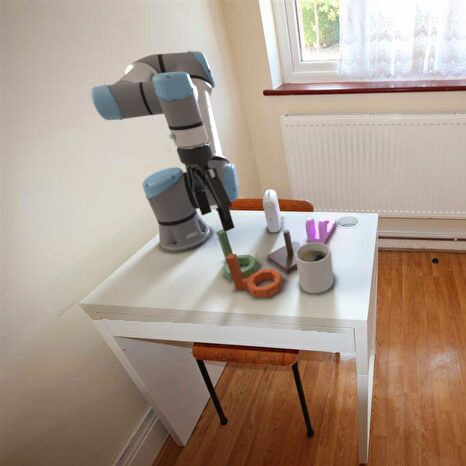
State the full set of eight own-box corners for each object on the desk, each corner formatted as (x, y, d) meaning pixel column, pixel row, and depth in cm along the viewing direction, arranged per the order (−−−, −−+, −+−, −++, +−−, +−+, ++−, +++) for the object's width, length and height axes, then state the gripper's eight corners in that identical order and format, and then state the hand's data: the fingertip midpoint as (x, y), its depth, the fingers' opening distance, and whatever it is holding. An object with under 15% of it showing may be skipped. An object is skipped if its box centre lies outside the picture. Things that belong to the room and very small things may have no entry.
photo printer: (281, 232, 109) (274, 199, 102) (268, 233, 109) (260, 200, 102) (282, 217, 118) (276, 185, 111) (270, 218, 117) (263, 187, 110)
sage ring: (262, 270, 92) (254, 239, 87) (235, 285, 88) (225, 253, 82) (241, 253, 100) (232, 224, 94) (215, 266, 95) (205, 236, 89)
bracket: (324, 243, 102) (321, 224, 98) (307, 241, 104) (304, 222, 100) (337, 222, 112) (335, 204, 109) (322, 220, 114) (320, 202, 110)
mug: (320, 298, 82) (315, 267, 76) (291, 285, 86) (285, 255, 81) (344, 273, 89) (341, 243, 84) (316, 263, 94) (312, 234, 88)
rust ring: (284, 275, 90) (277, 244, 84) (278, 297, 83) (271, 264, 77) (241, 277, 90) (232, 246, 85) (232, 299, 83) (221, 267, 77)
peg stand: (267, 259, 97) (261, 232, 91) (294, 244, 102) (290, 218, 97) (287, 273, 90) (281, 245, 85) (315, 257, 96) (311, 230, 91)
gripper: (158, 139, 83) (185, 212, 95) (199, 159, 68) (226, 243, 79) (187, 132, 87) (210, 202, 99) (232, 149, 72) (253, 230, 83)
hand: (217, 221), depth 89 cm, fingers open, 13 cm apart
